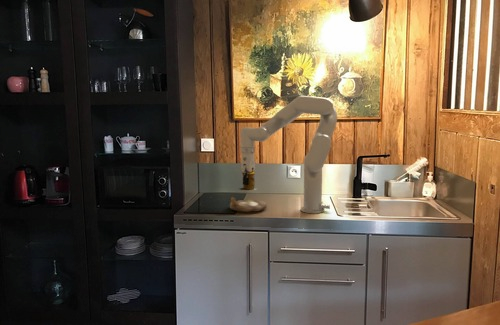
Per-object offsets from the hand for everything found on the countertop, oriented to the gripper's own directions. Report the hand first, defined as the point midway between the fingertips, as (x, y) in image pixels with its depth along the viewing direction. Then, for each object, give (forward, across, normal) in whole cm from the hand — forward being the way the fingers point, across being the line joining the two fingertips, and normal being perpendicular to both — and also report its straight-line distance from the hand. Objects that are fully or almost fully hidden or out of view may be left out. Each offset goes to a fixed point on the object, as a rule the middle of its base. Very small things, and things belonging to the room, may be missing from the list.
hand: (247, 183), depth 226 cm
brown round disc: (+13, 0, 0) cm, 13 cm away
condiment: (+3, -1, 0) cm, 4 cm away
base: (+14, 0, 0) cm, 14 cm away
